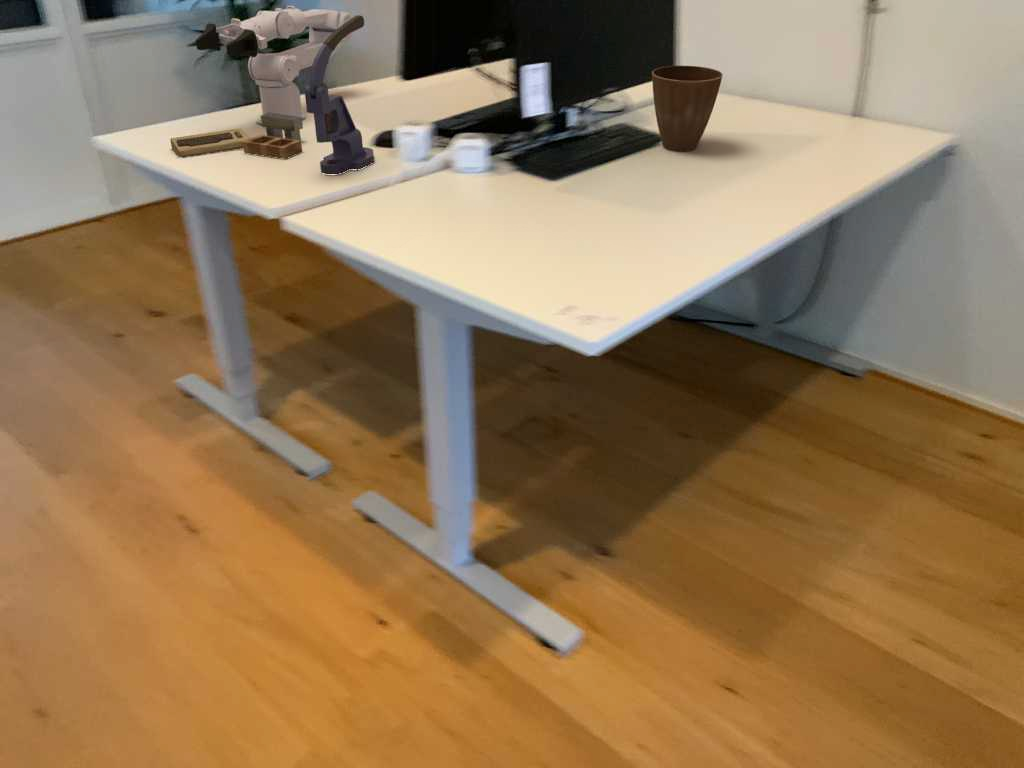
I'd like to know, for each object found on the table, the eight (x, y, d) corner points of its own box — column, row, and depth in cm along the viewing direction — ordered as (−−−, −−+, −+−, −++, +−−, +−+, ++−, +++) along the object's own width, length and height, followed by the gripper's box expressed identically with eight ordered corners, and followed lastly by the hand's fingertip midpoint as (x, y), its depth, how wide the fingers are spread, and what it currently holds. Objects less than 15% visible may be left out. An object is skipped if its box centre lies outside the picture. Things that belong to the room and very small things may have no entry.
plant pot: (698, 161, 182) (708, 83, 174) (634, 150, 189) (640, 75, 180) (722, 143, 193) (732, 70, 185) (661, 134, 200) (668, 62, 191)
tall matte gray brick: (272, 136, 197) (269, 112, 194) (304, 141, 194) (301, 116, 191) (264, 140, 194) (260, 115, 191) (296, 144, 191) (293, 120, 188)
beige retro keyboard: (180, 160, 183) (177, 145, 181) (171, 150, 189) (168, 135, 187) (253, 149, 190) (250, 134, 188) (242, 140, 196) (240, 126, 194)
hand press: (340, 180, 171) (324, 31, 156) (304, 174, 174) (285, 27, 159) (389, 155, 185) (379, 16, 170) (356, 149, 188) (343, 13, 173)
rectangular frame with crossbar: (261, 145, 190) (260, 134, 189) (302, 152, 187) (300, 140, 185) (244, 153, 186) (242, 141, 184) (285, 159, 182) (283, 148, 181)
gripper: (220, 9, 191) (181, 22, 181) (276, 19, 187) (239, 32, 177) (225, 42, 195) (186, 57, 185) (279, 52, 191) (243, 67, 181)
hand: (212, 47), depth 181 cm, fingers open, 7 cm apart
